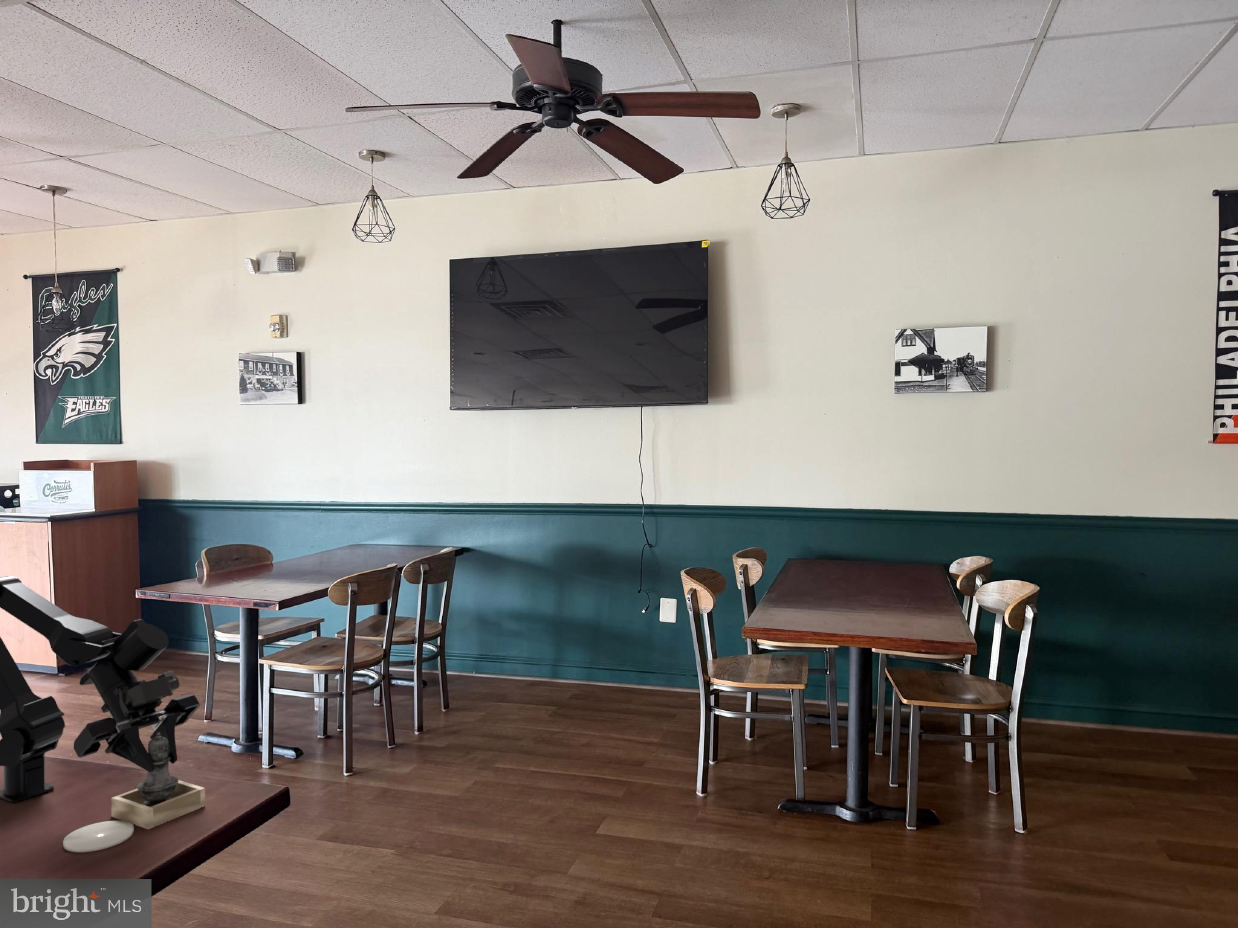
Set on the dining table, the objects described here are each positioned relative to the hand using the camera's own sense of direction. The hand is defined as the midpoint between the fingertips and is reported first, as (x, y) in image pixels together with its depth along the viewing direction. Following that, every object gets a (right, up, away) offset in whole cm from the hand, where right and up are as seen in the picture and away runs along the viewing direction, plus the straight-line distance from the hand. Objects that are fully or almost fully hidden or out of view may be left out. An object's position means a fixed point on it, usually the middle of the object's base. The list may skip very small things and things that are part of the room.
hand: (163, 765), depth 132 cm
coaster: (-5, -8, -9) cm, 13 cm away
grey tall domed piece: (-1, -7, +1) cm, 7 cm away
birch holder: (-1, -8, +1) cm, 8 cm away
